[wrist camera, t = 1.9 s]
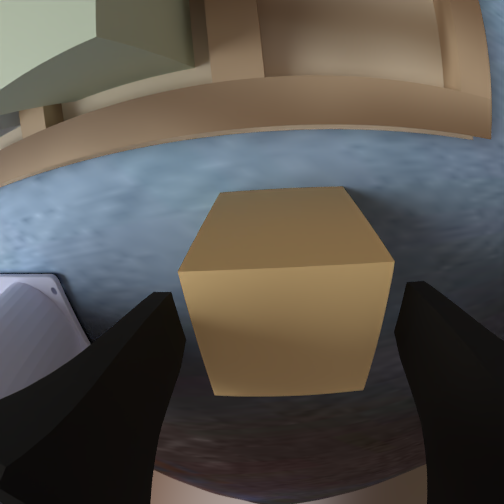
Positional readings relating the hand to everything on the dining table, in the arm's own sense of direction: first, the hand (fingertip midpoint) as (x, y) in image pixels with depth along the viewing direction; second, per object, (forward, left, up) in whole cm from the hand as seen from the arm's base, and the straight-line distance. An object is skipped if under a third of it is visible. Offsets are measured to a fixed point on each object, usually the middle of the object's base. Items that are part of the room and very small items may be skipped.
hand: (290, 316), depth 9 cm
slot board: (+10, +5, -5) cm, 12 cm away
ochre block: (0, 0, -5) cm, 5 cm away
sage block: (+10, +5, -3) cm, 12 cm away
